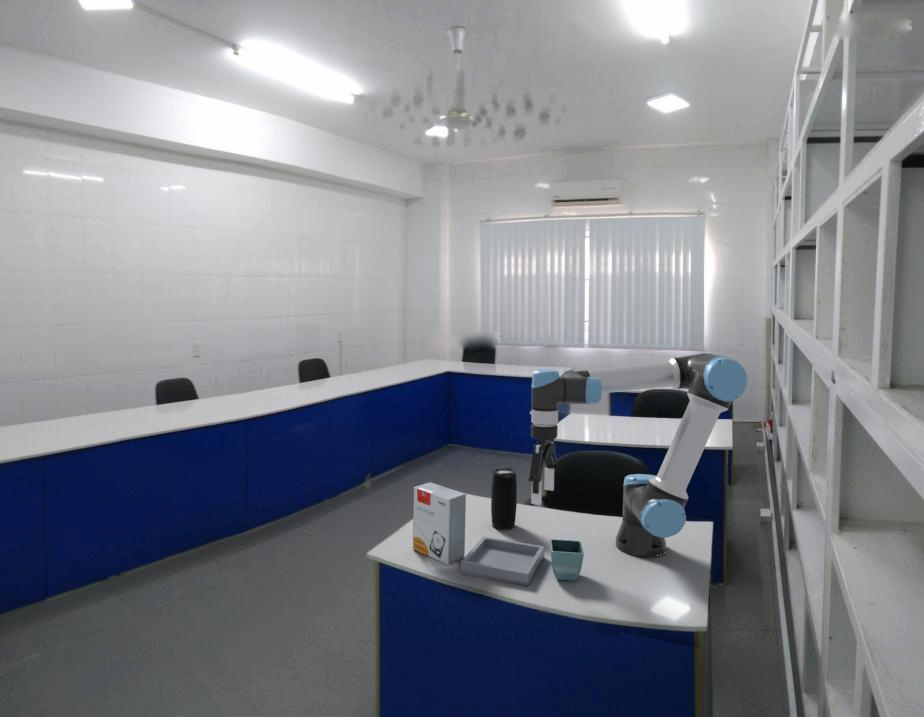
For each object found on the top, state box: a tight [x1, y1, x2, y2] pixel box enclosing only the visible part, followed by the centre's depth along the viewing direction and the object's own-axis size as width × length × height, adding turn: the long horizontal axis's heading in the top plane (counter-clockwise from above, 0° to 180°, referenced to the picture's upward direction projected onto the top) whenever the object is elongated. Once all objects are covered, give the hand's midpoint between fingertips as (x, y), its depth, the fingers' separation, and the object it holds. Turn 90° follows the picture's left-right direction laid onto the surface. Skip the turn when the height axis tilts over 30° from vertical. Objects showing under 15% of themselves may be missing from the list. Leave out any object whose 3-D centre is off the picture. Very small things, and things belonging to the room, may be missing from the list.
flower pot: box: [549, 538, 585, 582], centre depth 165 cm, size 9×9×9 cm
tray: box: [460, 536, 546, 587], centre depth 172 cm, size 19×19×4 cm
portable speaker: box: [490, 467, 518, 530], centre depth 201 cm, size 9×9×20 cm
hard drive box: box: [412, 481, 467, 566], centre depth 179 cm, size 16×8×20 cm, turn 47°
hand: (542, 496), depth 170 cm, fingers open, 13 cm apart
